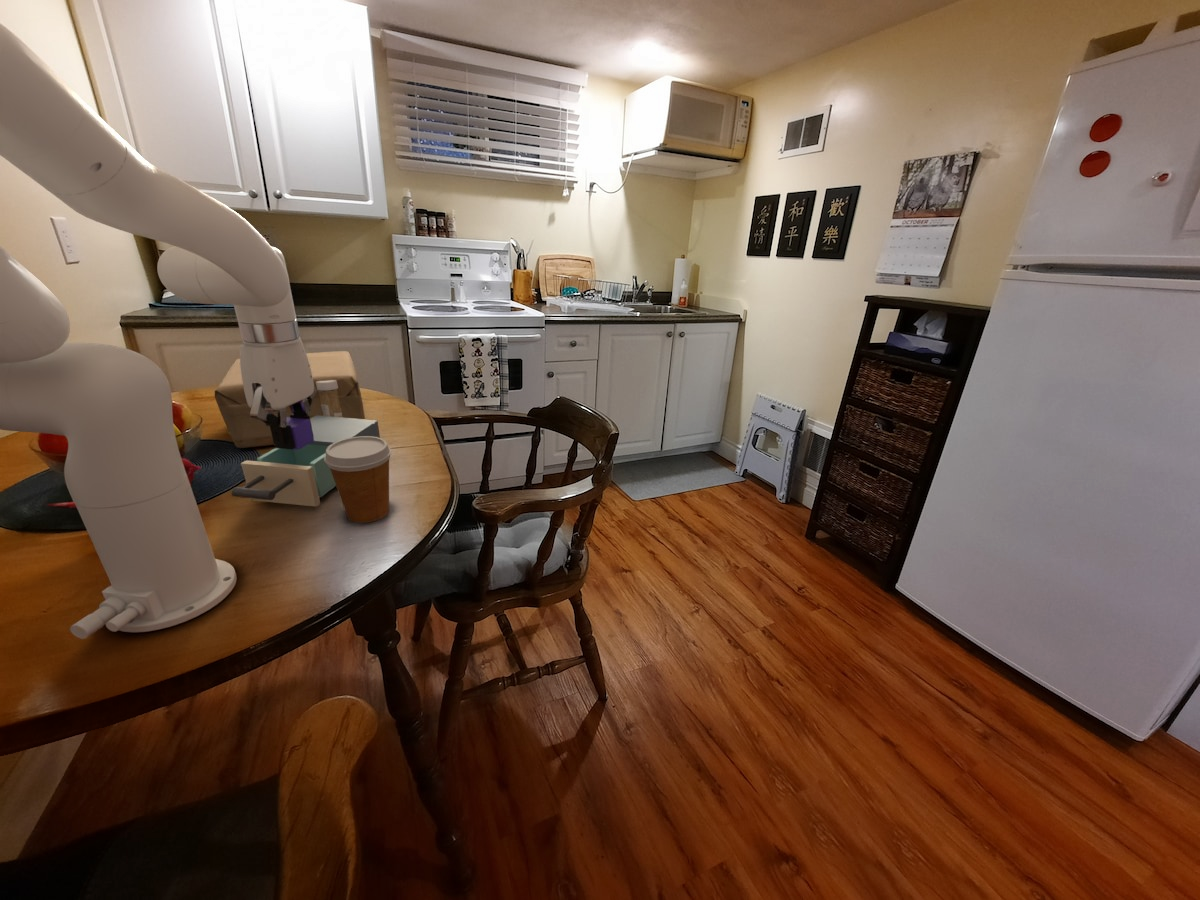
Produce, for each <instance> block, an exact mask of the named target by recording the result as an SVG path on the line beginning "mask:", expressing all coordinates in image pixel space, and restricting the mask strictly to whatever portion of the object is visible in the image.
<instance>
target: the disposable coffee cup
mask: <svg viewBox="0 0 1200 900" xmlns="http://www.w3.org/2000/svg"><path fill="white" fill-rule="evenodd" d="M391 455H392V449H391V447H390V446H389V444H388V442H387V441H386V440H385V439H384V438H381V437H380V438H379V437H373V436H358V437H351V438H346V439H342V440H340V441H337V442H335V443H333V444H331V445H330V446H329V447H327V449H326V455H325V457H324V461H325V463H326V464H327V465H328V467H330V470H331V473H332V475H333V478H334V481H335V484H336V486H335V487H336V489H337V492H338V495H339V498H340V500H341V504H342V505H343V509H344V511H345V514H346V516H347V520H349V521H350V522H352V523H356V524H357V523H359V524H365V523H366V524H367V523H372V522H375V521H378V520H380V519H383V518H384V517H386V516H387V514H388V513H389V512H390V458H391Z"/></svg>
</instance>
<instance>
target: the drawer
mask: <svg viewBox="0 0 1200 900" xmlns="http://www.w3.org/2000/svg"><path fill="white" fill-rule="evenodd" d="M327 447H329V446H321V445H310V444H308V445H306V446H304V447H302V448H301V449H299V450H295V449H281V448H276V447H274V448H273V449H271V450H269V451H268V452H265V453H264V454H262V455H261V456H258V457H257V458H256V460H248V459H246V460H244V461H243V462H240V466H241V469H242V473H243V476H244V480H245V484H244V485H242V486H240V487H237V486H236V487H233V488H232V489H231V495H232V496H233V497H237V498H244V499H245V498H246V499H250V501H257V502H268V503H277V504H285V505H286V504H288V505H295V506H307V507H318V506H319V505H320V504H321V499H320V498H322V497H324V496H325V495H326V494H327V493H328V492H330V491H331V490H333V489H334V488H335V487H337V486H336V484H335V481H334V478H333V475H332V473H331V470H330V467H328V465H327V464H326V463H325V461H324V457H325V455H326V449H327Z"/></svg>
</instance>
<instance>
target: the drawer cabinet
mask: <svg viewBox="0 0 1200 900" xmlns="http://www.w3.org/2000/svg"><path fill="white" fill-rule="evenodd" d="M310 421H311V426H312V431H313V438H314V441H313V442H311V443H309V444H310V445H321V446H330V445H331V444H333V443H335V442H337V441H340V440H342V439H346V438H351V437H358V436H373V437H379V438H381V434H380V429H379V428H380V427H379V422H378V420H377V419H366V418H365V419H355V418H343V417H331V416H320V415H316V416H314V417H312V418H310Z"/></svg>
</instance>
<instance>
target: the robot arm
mask: <svg viewBox="0 0 1200 900" xmlns="http://www.w3.org/2000/svg"><path fill="white" fill-rule="evenodd" d="M0 157H2V158H3V159H4V160H6V161H7V162H9V163H10V164H11V165H12V166H14V167H15V168H17V169H18V170H20V171H21V172H22V173H24V174H25V175H26V176H28V177H29V178H30V179H31V180H33V181H34V182H36V183H37V184H39V185H40V186H41V187H42V188H44V189H45V190H46V191H48V192H49V193H50V194H52V195H53V196H54V197H56V198H57V199H58V200H59V201H61V202H62V203H64V204H65V205H66V206H67V207H69V208H70V209H71V210H73V211H74V212H76V213H77V214H79V215H81V216H83V217H84V218H87V219H89V220H92V221H94V222H96V223H100V224H102V225H105V226H107V227H110V228H113V229H117V230H119V231H122V232H125V233H128V234H131V235H135V236H139V237H143V238H146V239H150V240H154V241H157V242H162V243H164V244H168V245H171V246H170V247H168V248H167V249H165V250H164V251H163V252H162V254H160V256H159V258H158V260H157V265H156V266H157V268H156V269H157V275H158V278H159V280H160V282H161V284H162V285H163V286H164V287H165V288H166V289H167V291H168V292H170V293H171V294H173V295H174V296H175V297H178V298H179V299H181V300H185V301H187V302H190V303H194V304H203V305H219V306H233V308H234V311H235V316H236V320H237V325H238V328H239V333H240V336H241V340H242V344H240V345H239V359H240V368H241V376H242V382H243V387H244V392H245V397H246V401H247V404H248V406H249V407H250V408H251V411H250V416H251V417H252V418H255V419H258V420H261V421H263V422H264V423H265V424H266V426H270V429H271V433H272V438H273V442H274V445H273V447H274V448H281V449H293V448H295V444H294V440H293V435H292V430H291V426H289V425H287V417H286V407H287V406H290V409H291V412H292V413H293V414H294V415H293V414H292V415H290V418H301V419H310V416H308V415H310V414H311V408H310V406H311V403H312V399H313V397H314V396H315V394H316V392H317V390H316V388H315V387H314V383H313V377H312V372H311V368H310V364H309V361H308V357H307V354H306V353H307V350H306V348H305V346H304V343H303V340H302V338H301V334H300V331H299V325H298V319H297V314H296V310H295V304H294V299H293V295H292V289H291V284H290V278H289V277H290V276H289V273H288V269H287V263H286V260H285V256H284V254H283V252H282V251H281V250H280V249H278V247H275V246H272V245H271V244H270V243H269V242H268V241H267V240H266V238H265V237H263V235H262V234H260V232H259V231H258V230H257V229H256V228H255V227H254V226H253V225H252V224H251V223H250V222H249V221H248V220H246V218H244V217H243V216H242V215H241V214H240V213H237V212H236V211H235V210H234V209H232V208H230V207H229V206H227V205H226V204H224V203H222V202H221V201H219V200H218V199H216V198H214V197H212V196H210V195H209V194H207V193H205V192H203V191H201V190H200V189H198V188H196V187H194V186H193V185H191V184H189V183H187V182H186V181H184V180H182V179H180V178H178V177H177V176H175V175H173V174H171V173H170V172H167V171H165V170H163V169H161V168H159V167H157V166H156V165H154V164H152V163H151V162H149V161H148V160H146V159H145V158H144V157H143V156H142V155H141V154H140V153H139V152H137V151H136V150H135V148H133V147H132V146H131V145H130V144H129V143H128V142H127V141H126V140H125V139H124V138H123V137H122V136H121V134H119V133H118V132H116V131H115V129H113V127H112V126H110V125H109V124H108V123H107V122H106V121H105V120H104V119H103V118H102V117H101V116H100V115H99V114H98V113H97V112H96V111H95V110H94V109H93V108H92V107H91V106H90V105H89V104H88V103H87V102H86V101H84V99H83V98H82V97H80V96H79V94H78V93H77V92H76V91H75V90H73V88H72V87H70V86H69V85H68V83H67V82H65V81H64V80H63V79H62V78H61V77H60V76H59V75H58V74H57V73H56V72H55V71H54V70H53V69H52V68H51V67H50V66H48V65H47V64H46V63H45V61H44V60H43V59H42V58H40V57H39V56H38V55H37V53H35V52H34V51H33V50H32V49H31V48H30V47H29V46H28V45H27V44H26V43H25V42H23V41H22V39H21V38H19V37H18V36H17V35H15V33H14V32H12V31H11V30H10V29H8V28H7V27H6V25H5V26H4V25H3V24H2V23H0ZM70 332H71V321H70V317H69V314H68V312H67V310H66V308H65V307H64V305H63V304H62V302H61V301H60V299H59V298H58V297H57V296H56V295H55V294H54V293H53V292H52V291H51V289H49V287H47V286H46V284H44V283H43V282H42V281H41V279H39V278H38V277H37V276H35V275H34V274H33V272H31V271H30V270H28V268H26V267H25V266H24V265H22V264H21V263H20V262H19V261H18V260H17V259H16V258H14V257H13V256H12V255H11V254H10V253H8V251H6V250H5V248H3V247H2V246H0V430H2V431H8V432H19V433H37V434H48V435H49V434H50V435H54V436H55V435H56V436H64V437H65V438H66V439H67V445H68V446H67V452H66V458H65V462H64V467H63V476H64V482H65V485H66V488H67V491H68V492H69V495H70V497H71V500H72V502H74V503H75V505H76V507H77V508H76V509H77V512H78V513H79V516H80V518H81V520H82V522H83V525H84V527H85V529H86V531H87V534H88V537H89V538H90V540H91V542H92V545H93V547H94V549H95V552H96V554H97V556H98V558H99V561H100V563H101V564H102V567H103V569H104V572H105V574H106V576H107V578H108V581H109V583H110V585H109V586H107V587H106V588H105V589H103V590H102V591H101V593H102V595H103V598H104V600H103V601H102V602H101V603H99V605H98V608H97V609H96V610H95V611H93V612H92V613H89V614H87V615H85V616H84V617H82V618H81V619H80V620H78V621H76V622H75V623H73V624H71V626H70V627H69V630H70V633H71V634H72V635H73V636H74V637H76V638H78V639H80V640H86V639H88V638H89V637H90V636H92V635H93V634H95V633H96V632H98V631H99V630H100V629H103V627H104V626H105V627H106V629H108V630H109V631H110V632H114V633H117V632H118V631H119V632H124V633H147V632H153V631H159V630H163V629H167V628H171V627H175V626H177V625H180V624H183V623H186V622H188V621H190V620H192V619H194V618H197V617H199V616H200V615H202V614H204V613H206V612H207V611H210V610H211V609H213V608H214V607H216V606H217V605H218V604H219V603H221V602H222V601H223V600H224V599H226V598H227V597H228V596H229V594H230V593H231V592H232V591H233V589H234V588H235V586H236V584H237V580H238V578H237V573H236V569H235V568H234V566H233V565H232V564H231V563H229V562H227V561H225V560H221V559H217V558H215V554H214V551H213V548H212V545H211V543H210V540H209V537H208V533H207V531H206V530H207V529H206V527H205V525H204V522H203V519H202V515H201V513H200V509H199V507H198V504H197V501H196V497H195V495H194V492H193V488H192V484H191V485H190V482H189V480H188V477H187V474H186V471H185V468H184V465H183V462H182V459H181V458H182V456H181V453H180V452H181V451H180V449H179V446H178V441H177V437H176V431H175V427H174V425H175V424H174V415H173V398H172V389H171V385H170V382H169V380H168V377H167V376H166V373H164V371H163V370H162V368H160V366H159V365H158V364H157V363H156V362H154V361H153V360H152V359H150V358H148V357H147V356H145V355H144V354H141V353H139V352H137V351H134V350H132V349H129V348H126V347H121V346H117V345H112V344H104V343H94V342H81V341H80V342H78V341H68V338H69V337H70ZM273 411H277V413H278V417H277V416H275V415H274V414H273ZM310 423H311V421H310ZM311 428H312V426H311ZM312 433H313V431H312Z"/></svg>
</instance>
